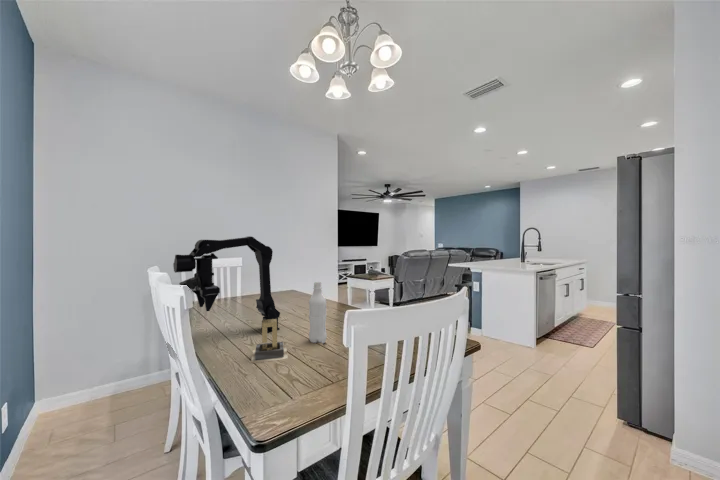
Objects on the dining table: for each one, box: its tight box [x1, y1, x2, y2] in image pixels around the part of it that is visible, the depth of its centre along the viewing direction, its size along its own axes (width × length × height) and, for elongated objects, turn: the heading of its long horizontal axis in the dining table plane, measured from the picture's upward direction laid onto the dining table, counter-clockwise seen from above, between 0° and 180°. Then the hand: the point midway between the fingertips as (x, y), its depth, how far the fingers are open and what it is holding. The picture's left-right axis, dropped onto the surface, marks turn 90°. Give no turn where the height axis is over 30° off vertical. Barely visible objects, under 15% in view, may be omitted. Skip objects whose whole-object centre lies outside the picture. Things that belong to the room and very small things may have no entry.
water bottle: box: [308, 281, 328, 344], centre depth 117 cm, size 7×7×25 cm
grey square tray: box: [250, 341, 289, 364], centre depth 103 cm, size 12×12×4 cm
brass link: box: [261, 319, 278, 351], centre depth 103 cm, size 4×5×12 cm
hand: (204, 309), depth 115 cm, fingers open, 9 cm apart
